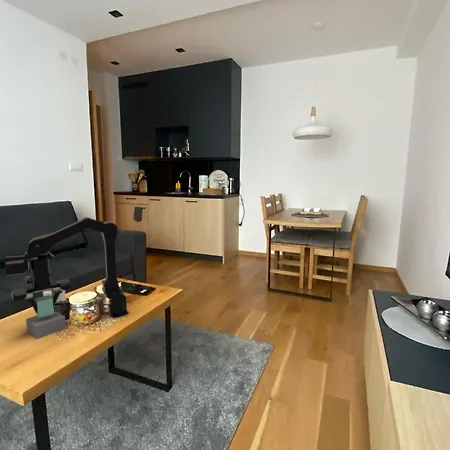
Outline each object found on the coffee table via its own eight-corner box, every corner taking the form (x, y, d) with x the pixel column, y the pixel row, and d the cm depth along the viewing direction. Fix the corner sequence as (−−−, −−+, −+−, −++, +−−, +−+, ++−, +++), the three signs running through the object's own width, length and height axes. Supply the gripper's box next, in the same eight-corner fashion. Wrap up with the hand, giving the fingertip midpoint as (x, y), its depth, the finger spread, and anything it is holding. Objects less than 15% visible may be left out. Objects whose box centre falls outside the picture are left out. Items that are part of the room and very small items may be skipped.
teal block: (51, 309, 116) (49, 294, 115) (54, 313, 112) (52, 298, 112) (36, 313, 113) (34, 298, 112) (38, 317, 109) (37, 302, 108)
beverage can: (70, 309, 131) (68, 283, 129) (58, 318, 123) (56, 290, 121) (53, 309, 132) (51, 283, 130) (40, 317, 124) (37, 290, 122)
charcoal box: (55, 321, 121) (54, 309, 120) (66, 329, 114) (64, 316, 114) (27, 331, 113) (25, 318, 112) (37, 339, 107) (35, 326, 106)
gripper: (63, 262, 122) (66, 298, 125) (7, 271, 110) (12, 311, 113) (70, 268, 114) (73, 306, 116) (11, 278, 102) (16, 321, 104)
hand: (44, 310), depth 113 cm, fingers closed on teal block, 5 cm apart
